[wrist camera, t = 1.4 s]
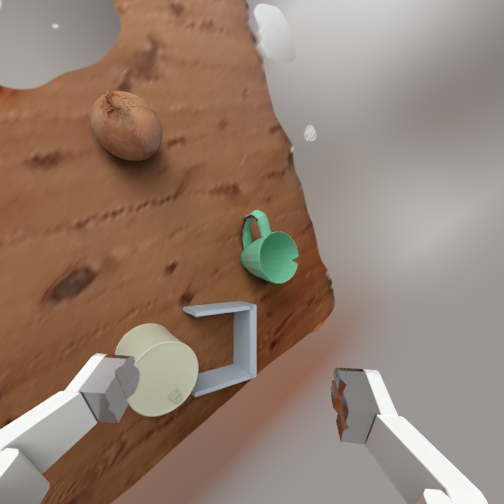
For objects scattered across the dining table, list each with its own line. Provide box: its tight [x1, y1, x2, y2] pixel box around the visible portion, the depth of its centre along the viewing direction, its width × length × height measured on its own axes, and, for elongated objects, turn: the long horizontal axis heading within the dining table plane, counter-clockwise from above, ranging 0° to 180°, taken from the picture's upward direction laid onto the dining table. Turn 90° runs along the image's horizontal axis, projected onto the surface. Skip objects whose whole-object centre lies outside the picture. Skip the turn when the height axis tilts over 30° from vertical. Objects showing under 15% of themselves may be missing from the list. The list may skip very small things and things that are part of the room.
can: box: [115, 323, 198, 417], centre depth 35 cm, size 9×9×12 cm
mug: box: [241, 210, 298, 284], centre depth 48 cm, size 15×10×10 cm
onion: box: [91, 90, 162, 161], centre depth 36 cm, size 10×9×10 cm
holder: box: [183, 301, 257, 397], centre depth 45 cm, size 12×14×6 cm
